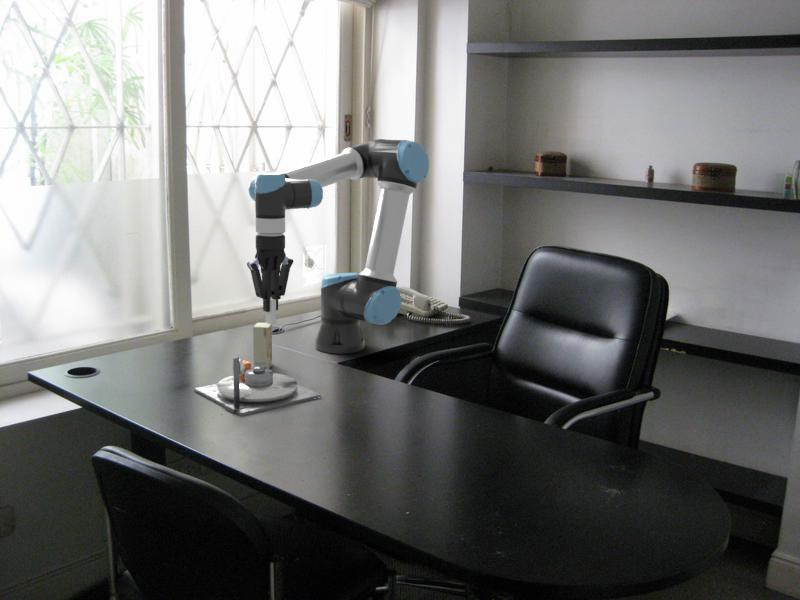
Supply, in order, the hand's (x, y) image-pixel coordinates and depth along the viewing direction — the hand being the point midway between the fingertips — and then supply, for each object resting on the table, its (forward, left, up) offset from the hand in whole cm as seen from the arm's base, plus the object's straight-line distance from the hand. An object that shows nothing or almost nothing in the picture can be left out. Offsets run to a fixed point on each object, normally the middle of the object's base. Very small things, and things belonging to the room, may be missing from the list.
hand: (270, 323), depth 224 cm
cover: (+8, +7, -13) cm, 17 cm away
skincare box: (-6, -13, -16) cm, 22 cm away
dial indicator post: (+18, +14, -16) cm, 28 cm away
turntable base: (+8, +7, -16) cm, 19 cm away
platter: (+8, +6, -15) cm, 18 cm away
